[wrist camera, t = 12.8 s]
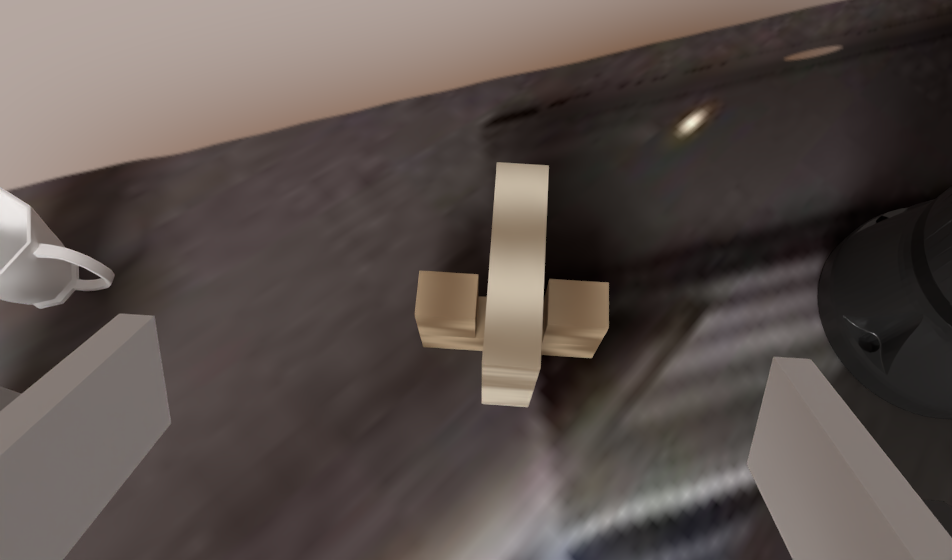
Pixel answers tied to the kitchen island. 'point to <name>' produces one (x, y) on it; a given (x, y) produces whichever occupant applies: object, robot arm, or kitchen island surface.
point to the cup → (39, 259)
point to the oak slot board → (463, 314)
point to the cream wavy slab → (515, 285)
